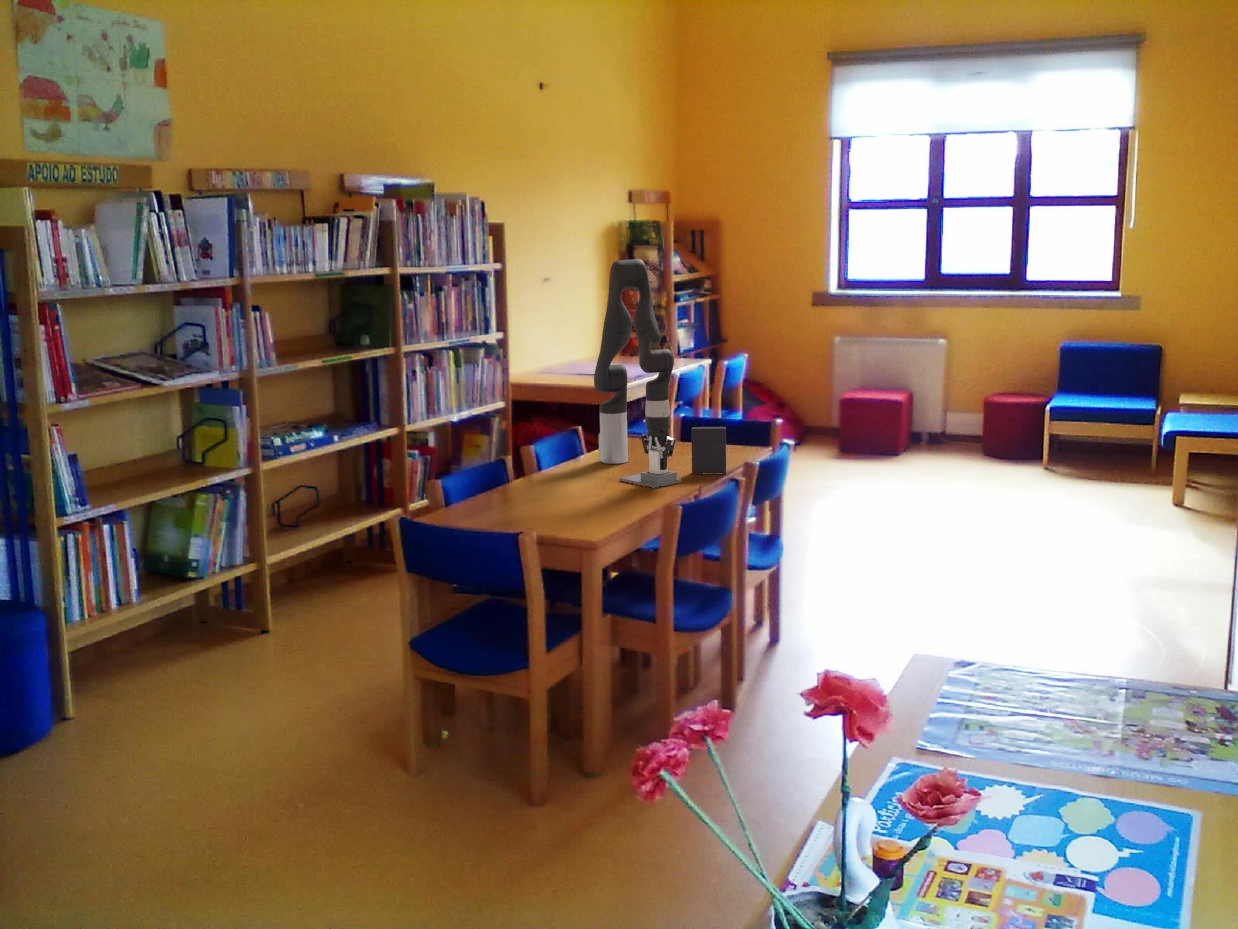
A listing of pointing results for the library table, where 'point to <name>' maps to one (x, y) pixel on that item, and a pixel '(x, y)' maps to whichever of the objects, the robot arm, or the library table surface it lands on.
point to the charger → (655, 462)
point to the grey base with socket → (653, 479)
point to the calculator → (708, 450)
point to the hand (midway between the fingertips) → (658, 468)
